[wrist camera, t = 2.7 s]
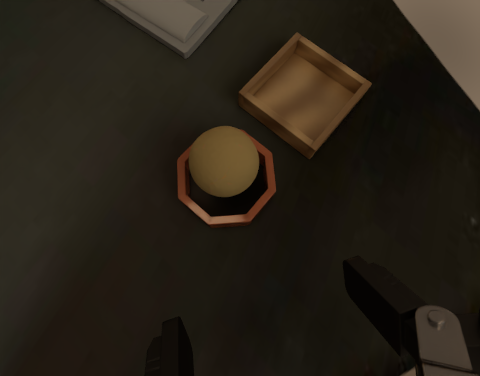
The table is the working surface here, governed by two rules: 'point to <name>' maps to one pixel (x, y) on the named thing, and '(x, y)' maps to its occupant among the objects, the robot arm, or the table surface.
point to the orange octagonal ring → (228, 220)
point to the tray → (302, 94)
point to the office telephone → (174, 19)
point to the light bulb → (223, 161)
